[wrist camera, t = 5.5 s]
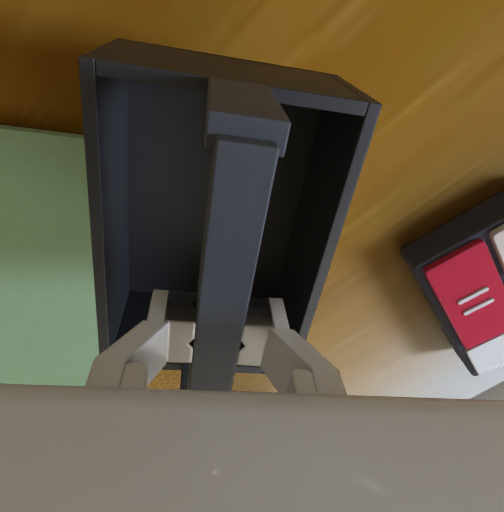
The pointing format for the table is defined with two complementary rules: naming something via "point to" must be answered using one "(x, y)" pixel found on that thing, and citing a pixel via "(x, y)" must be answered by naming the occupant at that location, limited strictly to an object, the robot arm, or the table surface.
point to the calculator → (466, 282)
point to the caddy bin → (215, 189)
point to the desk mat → (45, 260)
